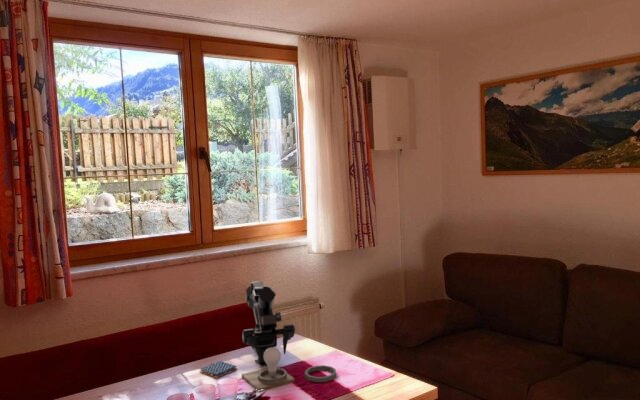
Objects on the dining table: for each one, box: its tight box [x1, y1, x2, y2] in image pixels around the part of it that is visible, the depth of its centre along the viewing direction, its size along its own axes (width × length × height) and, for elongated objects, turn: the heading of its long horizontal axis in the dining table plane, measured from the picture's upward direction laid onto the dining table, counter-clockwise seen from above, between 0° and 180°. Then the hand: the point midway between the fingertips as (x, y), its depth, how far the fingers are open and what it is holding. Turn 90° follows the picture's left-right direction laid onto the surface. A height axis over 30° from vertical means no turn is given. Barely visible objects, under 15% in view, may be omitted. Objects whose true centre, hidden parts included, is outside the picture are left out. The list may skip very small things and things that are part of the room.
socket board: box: [241, 365, 296, 391], centre depth 178 cm, size 15×14×2 cm
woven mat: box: [199, 360, 238, 379], centre depth 188 cm, size 10×11×2 cm
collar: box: [304, 365, 337, 383], centre depth 180 cm, size 11×11×2 cm
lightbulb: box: [263, 347, 282, 378], centre depth 176 cm, size 6×6×11 cm
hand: (272, 355), depth 175 cm, fingers open, 9 cm apart
